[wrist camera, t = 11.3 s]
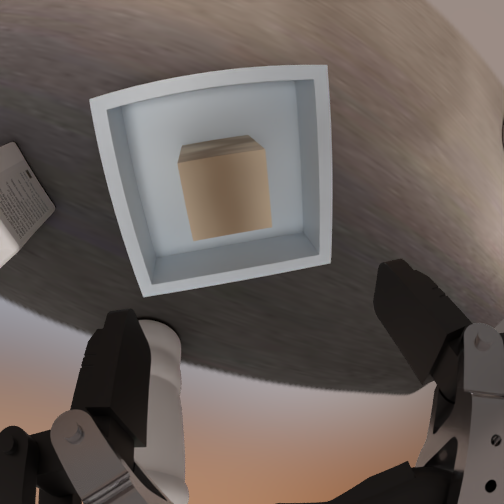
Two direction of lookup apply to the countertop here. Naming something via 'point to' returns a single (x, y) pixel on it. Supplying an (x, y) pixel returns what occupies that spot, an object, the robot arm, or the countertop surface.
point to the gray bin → (211, 128)
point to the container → (19, 202)
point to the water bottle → (164, 415)
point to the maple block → (225, 186)
